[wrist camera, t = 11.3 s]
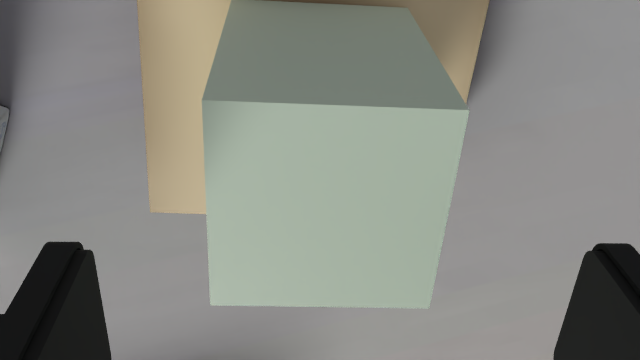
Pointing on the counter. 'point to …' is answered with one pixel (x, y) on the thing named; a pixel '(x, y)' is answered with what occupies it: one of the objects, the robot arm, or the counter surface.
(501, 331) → the counter surface
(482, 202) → the counter surface
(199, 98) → the oak slab
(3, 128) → the light bulb box
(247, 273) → the sage block
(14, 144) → the counter surface
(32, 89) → the counter surface
